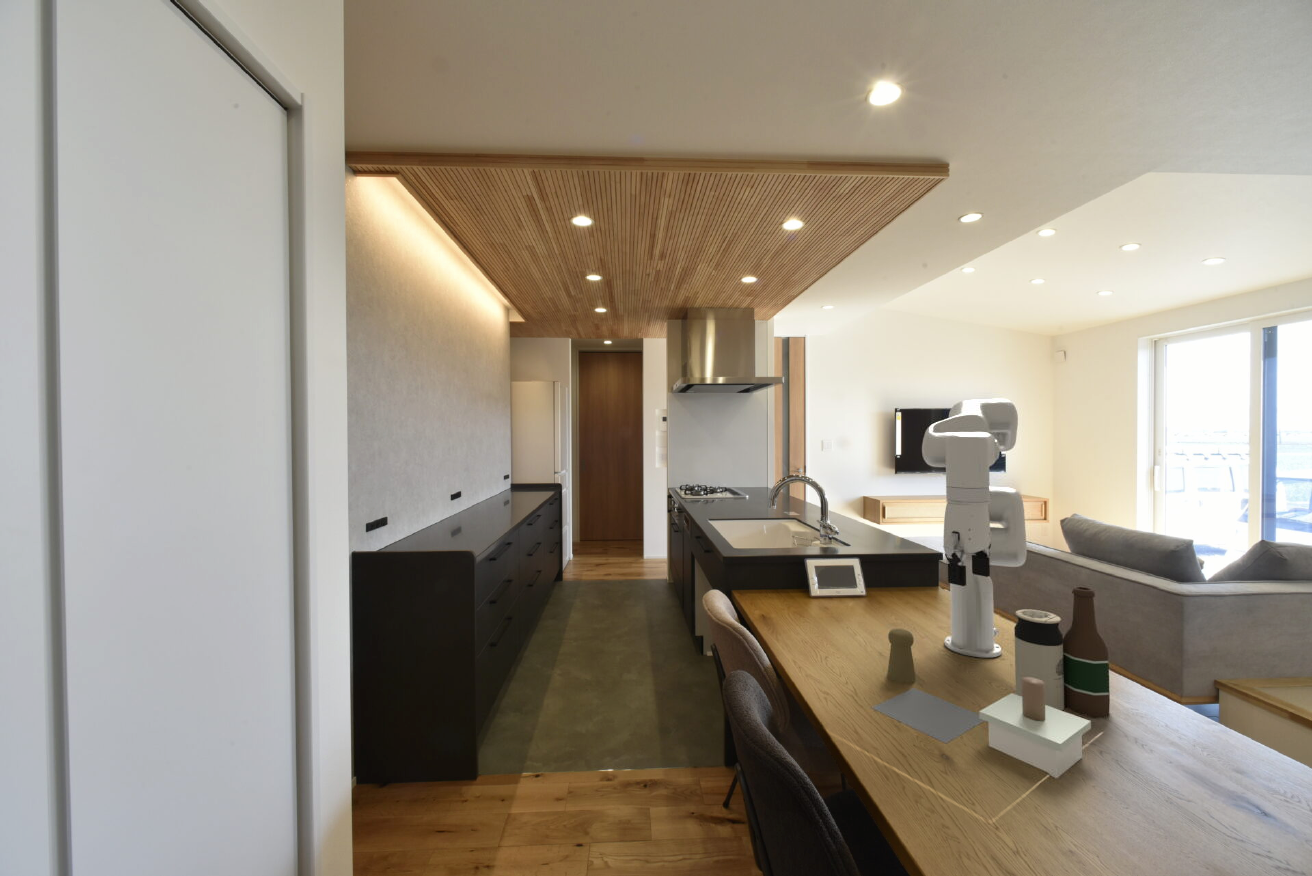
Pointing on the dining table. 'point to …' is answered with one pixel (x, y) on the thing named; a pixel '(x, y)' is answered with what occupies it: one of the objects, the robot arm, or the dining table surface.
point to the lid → (1035, 717)
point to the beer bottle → (1085, 660)
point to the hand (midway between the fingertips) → (969, 579)
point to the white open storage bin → (1035, 751)
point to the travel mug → (1040, 653)
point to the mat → (929, 714)
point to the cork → (901, 657)
